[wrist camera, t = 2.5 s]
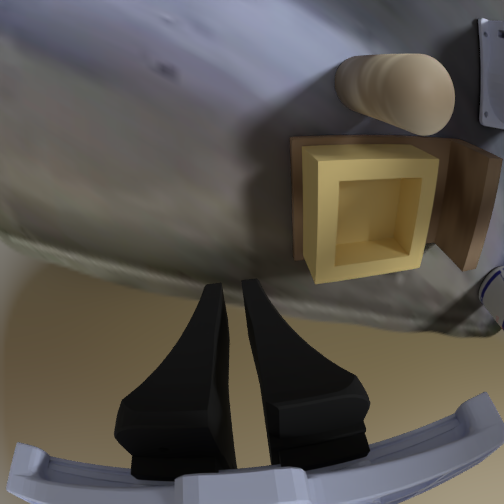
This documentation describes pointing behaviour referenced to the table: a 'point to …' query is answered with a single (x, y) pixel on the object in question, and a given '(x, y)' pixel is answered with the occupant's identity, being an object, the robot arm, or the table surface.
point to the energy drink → (494, 294)
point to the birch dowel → (398, 90)
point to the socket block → (365, 208)
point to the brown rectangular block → (446, 193)
